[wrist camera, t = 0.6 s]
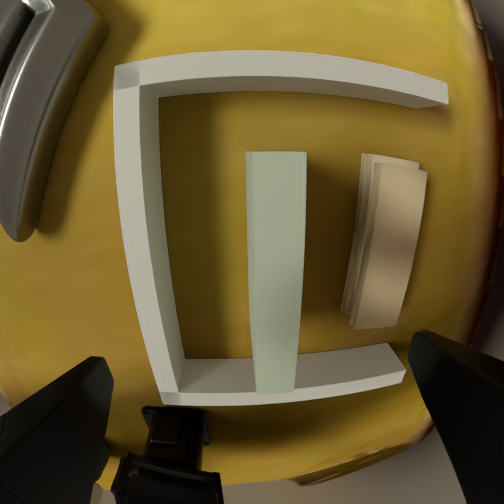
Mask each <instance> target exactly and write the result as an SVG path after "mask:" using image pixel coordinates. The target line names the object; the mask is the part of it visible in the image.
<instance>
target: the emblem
mask: <svg viewBox="0 0 504 504" xmlns="http://www.w3.org/2000/svg"><path fill="white" fill-rule="evenodd" d="M108 31H109V24H108V22H107V21H106V20H105V18H104V17H103V16H102V15H101V14H100V13H99V12H98V10H97V9H96V8H95V7H94V6H93V5H92V4H91V3H90V2H89V1H88V0H0V222H1V224H2V226H3V228H4V230H5V231H6V233H7V234H8V235H9V236H10V237H11V238H12V239H13V240H15V241H17V242H24V241H26V240H27V239H28V238H30V236H31V235H32V234H33V232H34V230H35V227H36V224H37V220H38V215H39V210H40V205H41V200H42V195H43V191H44V186H45V182H46V178H47V174H48V170H49V166H50V163H51V159H52V156H53V153H54V149H55V146H56V143H57V140H58V137H59V134H60V132H61V129H62V126H63V123H64V121H65V118H66V116H67V113H68V111H69V108H70V106H71V103H72V101H73V99H74V96H75V94H76V92H77V90H78V88H79V86H80V83H81V81H82V79H83V77H84V75H85V73H86V71H87V69H88V67H89V65H90V64H91V62H92V60H93V58H94V56H95V54H96V53H97V51H98V49H99V47H100V46H101V44H102V42H103V40H104V39H105V37H106V35H107V33H108Z"/></svg>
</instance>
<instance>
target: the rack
mask: <svg viewBox="0 0 504 504" xmlns="http://www.w3.org/2000/svg"><path fill="white" fill-rule="evenodd" d="M238 91H276V92H300V93H315V94H326V95H336V96H345V97H353V98H360V99H367V100H373V101H379V102H385V103H390V104H395V105H400V106H405V107H410V108H414V109H417V108H425V107H433V106H441V105H449V104H448V90H447V83H445V82H442V81H439V80H436V79H433V78H430V77H427V76H424V75H421V74H417V73H414V72H410V71H406V70H403V69H399V68H395V67H391V66H387V65H382V64H378V63H373V62H368V61H363V60H357V59H351V58H345V57H339V56H331V55H324V54H315V53H304V52H291V51H270V50H232V51H211V52H198V53H188V54H179V55H171V56H164V57H157V58H151V59H145V60H140V61H135V62H130V63H125V64H120V65H116V66H115V68H114V94H113V126H114V153H115V170H116V182H117V193H118V203H119V212H120V220H121V227H122V235H123V241H124V248H125V254H126V260H127V266H128V271H129V276H130V282H131V287H132V291H133V296H134V301H135V305H136V310H137V314H138V318H139V323H140V327H141V331H142V335H143V338H144V342H145V346H146V350H147V353H148V357H149V360H150V364H151V367H152V370H153V374H154V377H155V380H156V383H157V386H158V389H159V392H160V395H161V398H162V401H163V404H169V405H192V406H234V405H258V404H273V403H284V402H295V401H304V400H312V399H319V398H326V397H333V396H339V395H345V394H351V393H356V392H361V391H366V390H371V389H376V388H380V387H385V386H389V385H393V384H397V383H401V381H402V379H403V376H404V374H405V371H406V369H405V368H404V366H403V365H402V363H401V362H400V360H399V359H398V357H397V356H396V354H395V353H394V352H393V350H392V349H391V347H390V346H389V344H388V343H383V344H377V345H371V346H364V347H358V348H351V349H343V350H336V351H327V352H319V353H309V354H299V355H297V363H296V373H295V383H294V392H290V393H279V394H265V395H257V394H256V383H255V372H254V361H253V358H233V359H185V356H184V351H183V345H182V340H181V335H180V329H179V323H178V317H177V311H176V305H175V299H174V292H173V285H172V278H171V271H170V263H169V255H168V247H167V238H166V229H165V219H164V207H163V195H162V181H161V165H160V143H159V98H161V97H169V96H178V95H188V94H199V93H214V92H238Z"/></svg>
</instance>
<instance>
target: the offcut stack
mask: <svg viewBox="0 0 504 504" xmlns="http://www.w3.org/2000/svg"><path fill="white" fill-rule="evenodd" d="M426 181H427V171H422V170H419V163H418V162H413V161H408V160H403V159H398V158H392V157H387V156H381V155H375V154H365V153H362V156H361V169H360V180H359V191H358V200H357V209H356V217H355V225H354V232H353V239H352V246H351V253H350V259H349V265H348V271H347V277H346V282H345V288H344V293H343V298H342V303H341V308H340V311H341V313H342V314H351V316H350V320H349V323H350V325H351V327H352V328H353V330H357V329H370V328H381V327H391V326H396V323H397V320H398V317H399V313H400V310H401V307H402V303H403V300H404V296H405V292H406V289H407V285H408V281H409V277H410V273H411V268H412V264H413V260H414V255H415V250H416V245H417V240H418V235H419V229H420V224H421V218H422V211H423V205H424V197H425V189H426Z"/></svg>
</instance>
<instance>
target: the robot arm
mask: <svg viewBox="0 0 504 504" xmlns="http://www.w3.org/2000/svg"><path fill="white" fill-rule="evenodd" d="M408 362H409V364H410V367H411V369H412V372H413V374H414V377H415V380H416V382H417V385H418V388H419V391H420V393H421V396H422V398H423V401H424V403H425V405H426V407H427V409H428V411H429V413H430V415H431V418H432V420H433V422H434V424H435V426H436V428H437V431H438V433H439V435H440V437H441V439H442V442H443V444H444V446H445V449H446V451H447V453H448V456H449V458H450V460H451V463H452V465H453V468H454V470H455V473H456V476H457V478H458V481H459V483H460V486H461V489H462V491H463V494H464V497H465V500H466V503H467V504H504V361H501V360H499V359H497V358H494V357H491V356H489V355H487V354H484V353H482V352H480V351H477V350H475V349H472V348H470V347H467V346H465V345H463V344H460V343H458V342H455V341H453V340H451V339H448V338H446V337H443V336H441V335H438V334H436V333H434V332H431V331H429V330H421V331H417V332H415V333H414V335H413V337H412V340H411V344H410V347H409V351H408ZM113 386H114V380H113V377H112V374H111V372H110V370H109V367H108V365H107V362H106V360H105V359H104V358H103V357H98V356H90V357H89V358H87V359H86V360H84V361H83V362H81V363H80V364H78V365H77V366H75V367H74V368H72V369H71V370H69V371H68V372H66V373H65V374H63V375H62V376H60V377H59V378H57V379H56V380H54V381H53V382H51V383H50V384H48V385H47V386H45V387H44V388H42V389H41V390H39V391H37V392H36V393H34V394H33V395H31V396H30V397H28V398H27V399H25V400H24V401H22V402H21V403H19V404H18V405H16V406H15V407H14V408H12V409H11V410H9V411H8V412H7V413H4V414H3V415H2V416H0V504H90V501H91V496H92V491H93V486H94V481H95V476H96V471H97V467H98V462H99V458H100V453H101V449H102V445H103V441H104V437H105V433H106V429H107V423H108V417H109V410H110V404H111V398H112V392H113ZM141 412H142V415H143V417H144V419H145V421H146V423H147V426H148V428H149V433H148V437H147V441H146V446H145V450H144V455H143V457H141V456H138V455H135V454H134V453H131V452H129V453H128V456H126V457H121V460H120V464H119V467H118V471H117V473H116V476H115V478H114V481H113V483H112V486H111V492H112V493H113V495H114V496H115V501H116V504H224V500H223V494H222V486H221V479H220V473H217V472H213V473H212V472H206V471H201V468H202V452H203V445H205V446H207V445H210V444H211V440H210V436H209V432H208V428H207V423H206V419H205V414H204V412H203V411H201V410H186V409H166V408H153V407H143V408H142V410H141Z"/></svg>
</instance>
